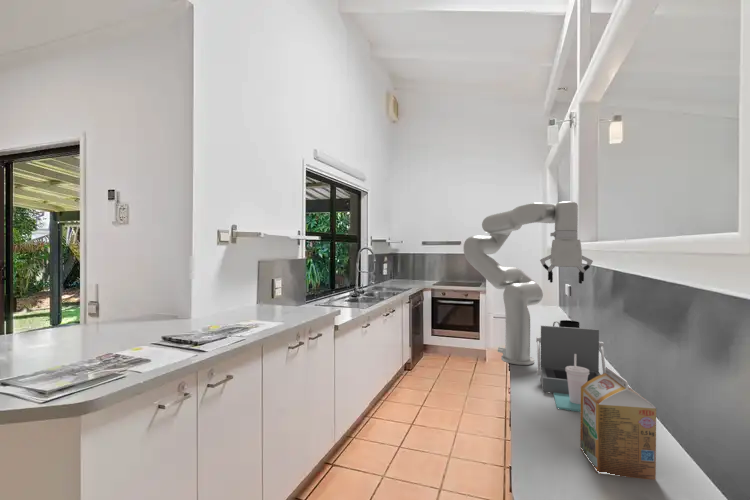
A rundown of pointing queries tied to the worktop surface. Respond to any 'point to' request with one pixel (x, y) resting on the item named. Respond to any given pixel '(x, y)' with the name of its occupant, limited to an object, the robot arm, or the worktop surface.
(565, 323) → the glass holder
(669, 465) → the worktop surface
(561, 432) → the worktop surface
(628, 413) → the milk carton
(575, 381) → the smoothie
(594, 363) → the case
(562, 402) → the mat
